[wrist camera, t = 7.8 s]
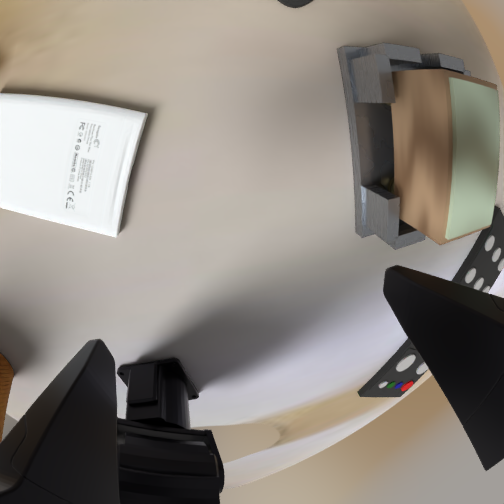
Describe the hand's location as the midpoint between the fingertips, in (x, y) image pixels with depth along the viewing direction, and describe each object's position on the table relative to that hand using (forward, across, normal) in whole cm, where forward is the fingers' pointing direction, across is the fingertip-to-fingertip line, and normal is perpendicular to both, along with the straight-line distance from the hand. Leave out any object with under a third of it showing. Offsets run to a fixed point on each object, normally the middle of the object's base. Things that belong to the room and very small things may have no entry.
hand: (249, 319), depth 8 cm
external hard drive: (+12, +10, -6) cm, 17 cm away
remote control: (+13, -27, +21) cm, 36 cm away
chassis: (+12, -15, -3) cm, 19 cm away
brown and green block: (+9, -15, -3) cm, 18 cm away
